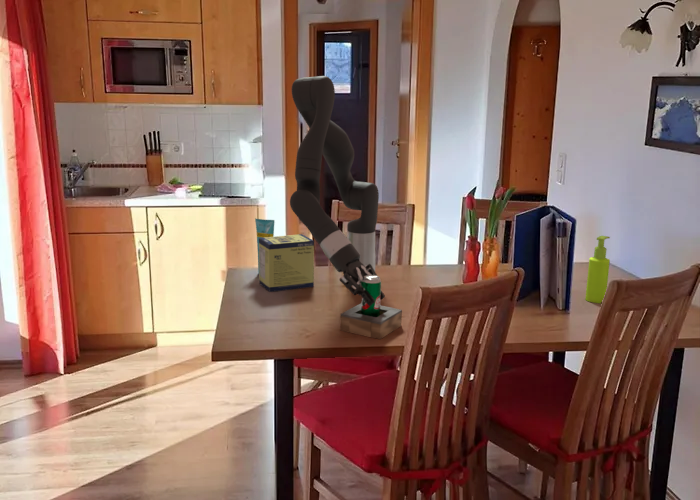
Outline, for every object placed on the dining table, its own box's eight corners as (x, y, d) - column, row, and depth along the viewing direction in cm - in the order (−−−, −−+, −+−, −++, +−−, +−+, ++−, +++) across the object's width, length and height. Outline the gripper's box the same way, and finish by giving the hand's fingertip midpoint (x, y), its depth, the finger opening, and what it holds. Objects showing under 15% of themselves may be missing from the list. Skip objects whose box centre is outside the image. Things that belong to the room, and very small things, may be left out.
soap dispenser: (609, 299, 212) (616, 236, 207) (600, 304, 207) (607, 240, 202) (591, 295, 216) (597, 233, 211) (582, 300, 211) (588, 236, 206)
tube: (253, 274, 234) (251, 219, 230) (259, 271, 239) (257, 217, 234) (273, 276, 232) (272, 221, 228) (278, 272, 237) (277, 218, 232)
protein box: (314, 286, 221) (314, 240, 218) (269, 292, 215) (268, 244, 211) (302, 278, 231) (302, 233, 227) (258, 283, 224) (257, 237, 220)
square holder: (363, 317, 192) (363, 302, 191) (401, 325, 186) (402, 309, 185) (340, 330, 182) (340, 313, 181) (380, 339, 176) (380, 322, 175)
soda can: (378, 324, 181) (379, 280, 178) (359, 322, 182) (360, 278, 179) (381, 317, 186) (382, 275, 183) (362, 316, 187) (364, 273, 184)
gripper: (334, 247, 177) (373, 300, 174) (361, 238, 189) (399, 287, 186) (316, 264, 181) (355, 316, 177) (345, 254, 193) (381, 302, 189)
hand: (377, 301), depth 182 cm, fingers closed on soda can, 4 cm apart
